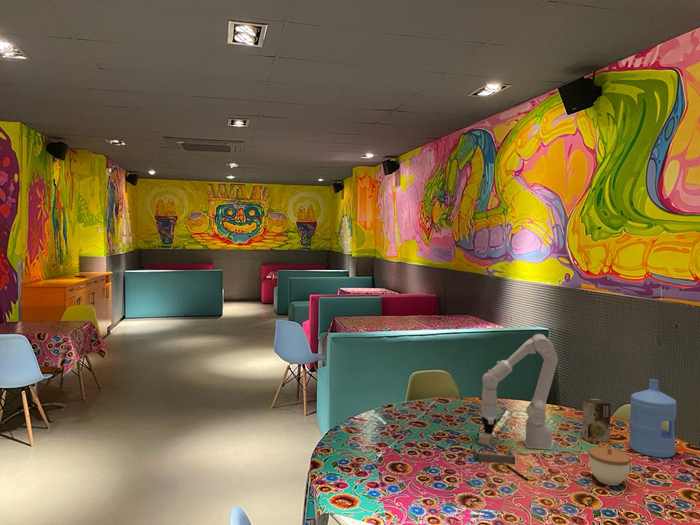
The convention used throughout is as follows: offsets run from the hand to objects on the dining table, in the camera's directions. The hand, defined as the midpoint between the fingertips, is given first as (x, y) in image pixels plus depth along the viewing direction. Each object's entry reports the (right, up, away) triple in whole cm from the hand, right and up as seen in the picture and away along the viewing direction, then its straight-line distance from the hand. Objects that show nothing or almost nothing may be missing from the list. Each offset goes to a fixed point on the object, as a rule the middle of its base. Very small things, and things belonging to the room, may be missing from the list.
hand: (488, 436), depth 206 cm
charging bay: (-2, -2, -16) cm, 17 cm away
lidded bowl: (+31, -4, -34) cm, 47 cm away
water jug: (+63, -4, -6) cm, 63 cm away
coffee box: (+46, -3, +5) cm, 46 cm away
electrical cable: (+2, -3, -30) cm, 30 cm away
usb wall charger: (-1, -2, -4) cm, 5 cm away
